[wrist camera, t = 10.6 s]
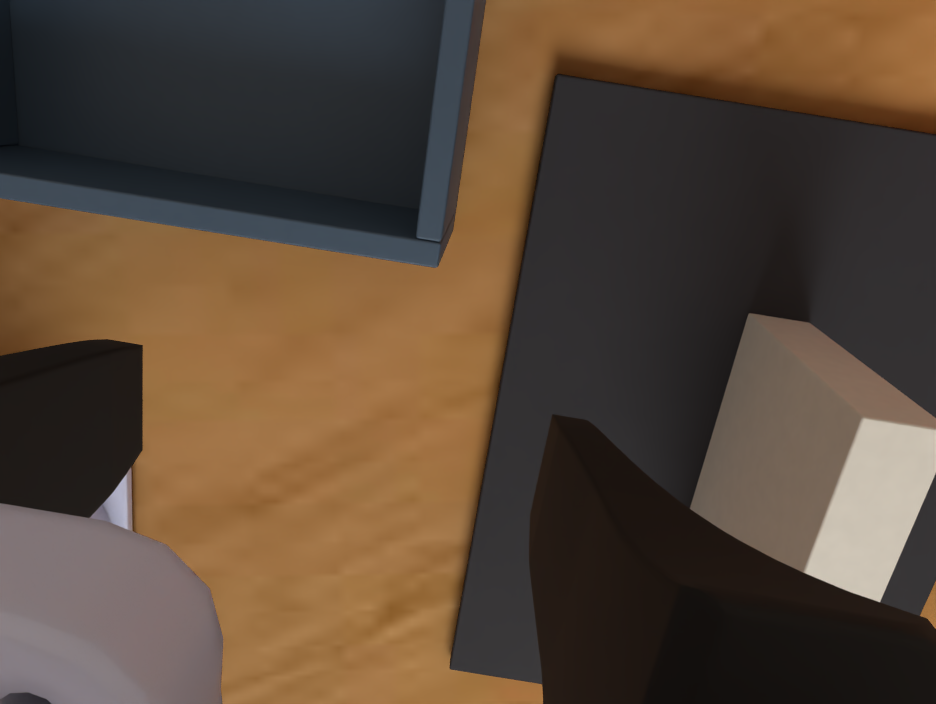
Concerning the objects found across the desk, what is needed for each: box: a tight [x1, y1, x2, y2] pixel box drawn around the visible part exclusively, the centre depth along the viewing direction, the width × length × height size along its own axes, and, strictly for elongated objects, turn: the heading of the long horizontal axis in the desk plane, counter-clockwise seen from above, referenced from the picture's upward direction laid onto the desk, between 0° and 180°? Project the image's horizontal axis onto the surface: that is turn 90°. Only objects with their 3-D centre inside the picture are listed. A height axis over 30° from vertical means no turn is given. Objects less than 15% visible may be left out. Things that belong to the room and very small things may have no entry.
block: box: [690, 313, 936, 602], centre depth 18 cm, size 9×2×7 cm, turn 171°
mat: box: [450, 74, 936, 684], centre depth 22 cm, size 20×15×1 cm
